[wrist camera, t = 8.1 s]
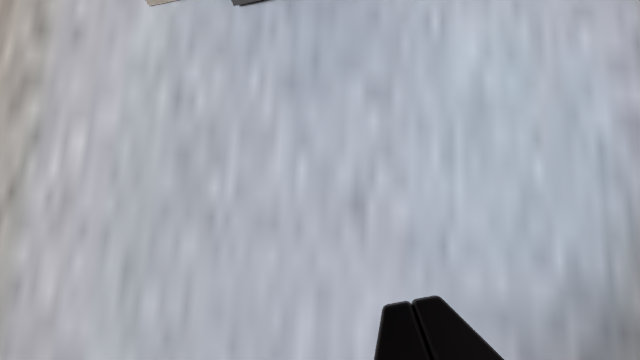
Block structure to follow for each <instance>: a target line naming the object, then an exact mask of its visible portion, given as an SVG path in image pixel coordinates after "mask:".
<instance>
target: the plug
mask: <svg viewBox="0 0 640 360" xmlns="http://www.w3.org/2000/svg"><path fill="white" fill-rule="evenodd" d="M255 1H260V0H232V2H233V5H234V6H236V5H241V4H245V3H250V2H255Z"/></svg>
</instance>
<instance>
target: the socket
mask: <svg viewBox="0 0 640 360" xmlns="http://www.w3.org/2000/svg"><path fill="white" fill-rule="evenodd" d="M145 1H146V2H147V4H148V5H149V6H152V5H157V4H162V3H167V2H171V1H176V0H145Z"/></svg>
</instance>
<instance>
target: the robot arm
mask: <svg viewBox="0 0 640 360" xmlns="http://www.w3.org/2000/svg"><path fill="white" fill-rule="evenodd" d="M374 360H504V359H503V358H502V357H501V356H500V355H499V354H498V353H497V352H496V351H495V350H494V349H493V348H492V347H491V346H490V345H489V344H488V343H487V342H486V341H485V340H484V339H483V338H482V337H481V336H480V335H479V334H478V333H477V332H476V331H475V330H474V329H473V328H471V327H470V326H469V325H468V324H467V323H466V322H465V321H464V320H463V319H462V318H461V317H460V316H459V315H458V314H457V313H456V312H455V311H454V310H453V309H452V308H451V307H450V306H449V305H448V304H447V303H446V302H445V301H444V300H443V299H442V298H441V297H439V296H429V297H424V298H419V299H415V300H413V301H412V303H410V302H408V301H403V302H398V303H392V304H387V305H385V306H384V307H383V310H382V315H381V321H380V327H379V333H378V339H377V345H376V351H375V357H374Z"/></svg>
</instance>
